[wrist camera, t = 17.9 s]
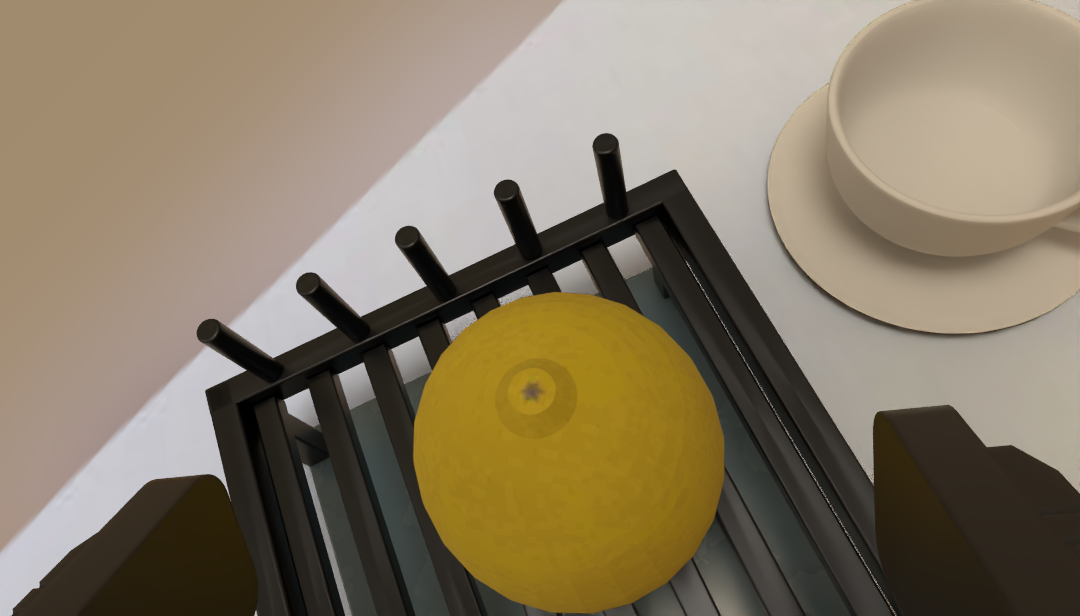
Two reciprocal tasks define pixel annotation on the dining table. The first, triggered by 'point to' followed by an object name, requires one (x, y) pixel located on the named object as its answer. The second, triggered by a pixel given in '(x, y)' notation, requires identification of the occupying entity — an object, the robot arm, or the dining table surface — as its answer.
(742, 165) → the dining table surface
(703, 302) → the dish rack
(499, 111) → the dining table surface
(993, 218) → the teacup
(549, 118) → the dining table surface
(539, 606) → the lemon
